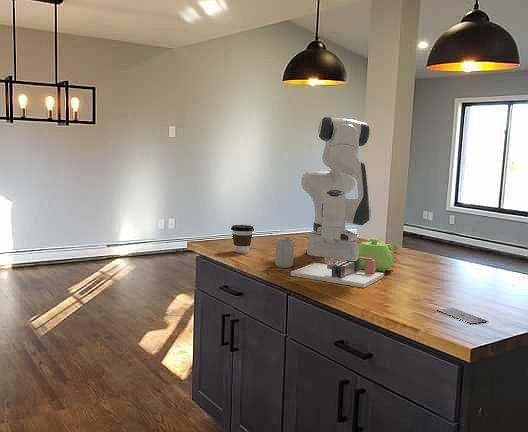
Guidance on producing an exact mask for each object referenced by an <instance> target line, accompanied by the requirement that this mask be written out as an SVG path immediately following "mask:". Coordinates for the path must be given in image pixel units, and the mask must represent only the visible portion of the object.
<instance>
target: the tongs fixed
mask: <svg viewBox="0 0 528 432" xmlns="http://www.w3.org/2000/svg"><path fill="white" fill-rule="evenodd" d="M345 261H348V263H347V264H345V265H342V266H340V267H337V277H338V278H342V277H344V276H345V275H348V274H350V273H352V272H357V271H359V269H360V268H359V267H360V259H357V260H355V261H349V260H345Z"/></svg>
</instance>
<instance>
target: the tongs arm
mask: <svg viewBox="0 0 528 432" xmlns="http://www.w3.org/2000/svg"><path fill="white" fill-rule="evenodd" d="M347 263H348V261H346V260H343V261H342V262H340V263H337V265H335V266H332V277H337V267H340V266H342V265H345V264H347Z"/></svg>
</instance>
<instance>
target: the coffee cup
mask: <svg viewBox="0 0 528 432" xmlns="http://www.w3.org/2000/svg"><path fill="white" fill-rule="evenodd" d="M231 230H232V243H233V246H234V251H235V252H236V253H239V254H247V253H249V251H250V248H251V247H250V246H251V243H252V237H253V231H255V228H254V225H249V224H234V225H233V224H232V225H231V228H230V231H231Z"/></svg>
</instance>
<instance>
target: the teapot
mask: <svg viewBox="0 0 528 432" xmlns="http://www.w3.org/2000/svg"><path fill="white" fill-rule="evenodd" d="M358 247H359V257H367V258H373V260H376V271H375V272H380V273H386V271H388V270H390V269H391V267H392V266H393V264H394V263H395V260H396V259H395V258H394V254H395V247H394V245H392V244H388V243H387V244H386V243H384V242H379V239H378V238H370V241H362V242H361V243H360V244H359V245H358ZM390 249H391V250H390ZM359 269H360V270H366V260H363V259H360V267H359Z"/></svg>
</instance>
